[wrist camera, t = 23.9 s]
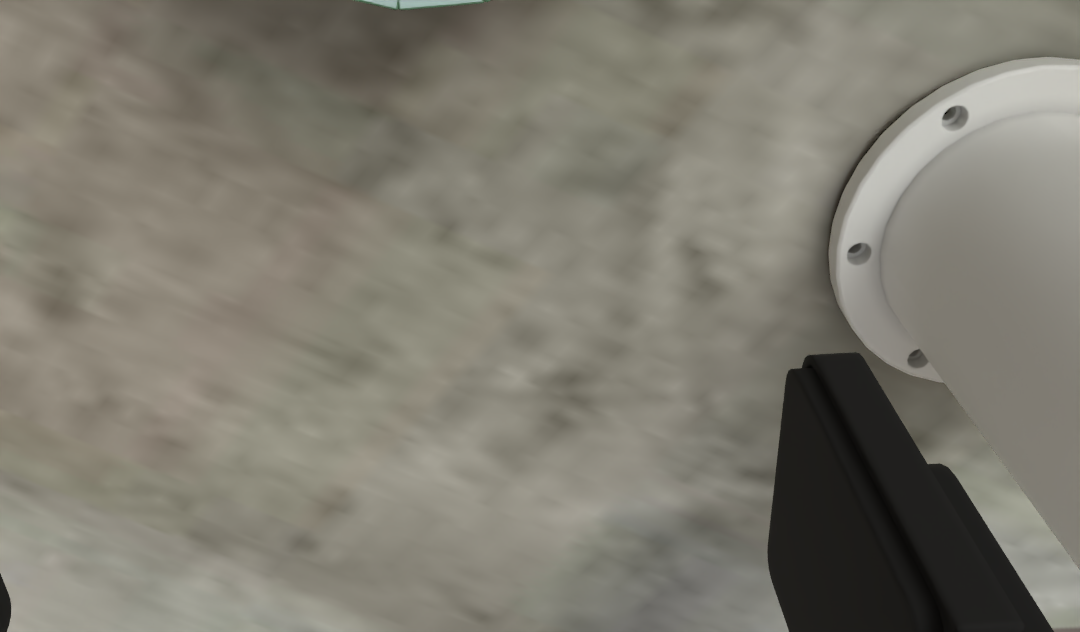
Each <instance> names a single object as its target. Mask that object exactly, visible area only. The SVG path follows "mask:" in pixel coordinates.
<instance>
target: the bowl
mask: <svg viewBox="0 0 1080 632" xmlns="http://www.w3.org/2000/svg"><path fill="white" fill-rule="evenodd" d="M354 1H358V2H362V3H367V4H371V5H375V6H380V7H384V8H389V9H393V10H398V9H399V10H413V9H424V8H436V7H447V6H459V5H470V4H482V3H484V1H485V2H489V1H491V0H354Z"/></svg>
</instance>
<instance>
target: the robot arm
mask: <svg viewBox="0 0 1080 632" xmlns="http://www.w3.org/2000/svg"><path fill="white" fill-rule="evenodd" d="M949 108H950V110H949V112H948V113H947V114H946V115H944V113H945V112H946V111H947V110H948V109H949ZM853 245H854V246H853ZM852 246H853V247H852ZM828 254H829V268H830V280H831V284H832V287H833V290H834V293H835V296H836V300H837V303H838V306H839V307H840V309H841V311H842V312H843V314H844V316H845V318H846V319H847V321H848V323H849V325H850V326H851V328H852V329H853V331H854V332H855V333H856V334H857V336H858V337H859V338H860V340H861V341H862V342H863V343H864V345H865V346H866V347H867V348H868V349H869V350H870V351H872V352H873V353H874V354H875V355H877V356H878V357H879V358H880V359H882V360H883V361H884V362H886V363H887V364H888V365H890V366H892V367H894V368H896V369H898V370H900V371H902V372H904V373H906V374H909V375H911V376H915V377H919V378H923V379H927V380H931V381H936V382H942V383H945V384H946V386H947V387H948V388H949V390H950V391H951V392H952V394H953V395H954V397H955V398H956V399H957V401H958V402H959V404H960V405H961V406H962V408H963V409H964V410H965V412H966V413H967V415H968V416H969V417H970V419H971V420H972V421H973V423H974V424H975V426H976V427H977V428H978V430H979V431H980V433H981V434H982V435H983V437H984V438H985V439H986V441H987V442H988V444H989V445H990V446H991V448H992V449H993V450H994V452H995V453H996V455H997V456H998V457H999V459H1000V460H1001V462H1002V463H1003V464H1004V466H1005V467H1006V468H1007V470H1008V471H1009V473H1010V474H1011V475H1012V477H1013V478H1014V479H1015V481H1016V482H1017V484H1018V485H1019V486H1020V488H1021V489H1022V491H1023V492H1024V493H1025V495H1026V496H1027V497H1028V499H1029V500H1030V502H1031V503H1032V504H1033V506H1034V507H1035V508H1036V510H1037V511H1038V513H1039V514H1040V515H1041V517H1042V518H1043V520H1044V521H1045V522H1046V524H1047V525H1048V526H1049V528H1050V529H1051V531H1052V532H1053V533H1054V535H1055V536H1056V538H1057V539H1058V540H1059V542H1060V543H1061V544H1062V546H1063V547H1064V549H1065V550H1066V551H1067V553H1068V554H1069V555H1070V557H1071V558H1072V560H1073V561H1074V562H1075V564H1076V565H1077V567H1078V568H1079V569H1080V60H1076V59H1067V58H1058V57H1039V58H1028V59H1017V60H1011V61H1008V62H1004V63H1000V64H997V65H993V66H989V67H986V68H982V69H978V70H976V71H974V72H972V73H970V74H967V75H965V76H963V77H961V78H959V79H956V80H954V81H952V82H950V83H948V84H946V85H943V86H942V87H940V88H939V89H937V90H936V91H934V92H933V93H931V94H930V95H928V96H927V97H925V98H924V99H922V100H921V101H919V102H918V103H916V104H915V105H913V106H912V107H910V108H909V109H908V110H907V111H906V112H905V113H904V114H903V115H902V116H901V117H899V118H898V119H897V120H896V121H895V122H894V123H893V124H892V125H891V126H890V127H889V128H887V129H886V130H885V131H884V132H883V133H882V134H881V136H880V137H879V138H878V139H877V141H876V142H875V143H874V144H873V146H872V147H871V148H870V149H869V151H868V152H867V153H866V154H865V156H864V157H863V158H862V159H861V161H860V162H859V164H858V166H857V168H856V169H855V171H854V173H853V175H852V177H851V178H850V180H849V182H848V184H847V186H846V187H845V189H844V191H843V193H842V196H841V199H840V202H839V205H838V208H837V211H836V214H835V216H834V219H833V223H832V230H831V237H830V244H829V251H828ZM768 565H769V571H770V576H771V579H772V583H773V586H774V589H775V591H776V594H777V597H778V600H779V603H780V606H781V609H782V612H783V615H784V618H785V620H786V623H787V626H788V629H789V632H1054V631H1053V630H1052V628H1051V626H1050V625H1049V623H1048V622H1047V620H1046V619H1045V617H1044V615H1043V614H1042V612H1041V611H1040V609H1039V607H1038V606H1037V604H1036V603H1035V601H1034V600H1033V598H1032V596H1031V595H1030V593H1029V592H1028V590H1027V588H1026V587H1025V585H1024V584H1023V582H1022V581H1021V579H1020V577H1019V576H1018V574H1017V573H1016V571H1015V569H1014V568H1013V566H1012V565H1011V563H1010V562H1009V560H1008V558H1007V557H1006V555H1005V554H1004V552H1003V550H1002V549H1001V547H1000V546H999V544H998V542H997V541H996V539H995V538H994V536H993V535H992V533H991V531H990V530H989V528H988V527H987V525H986V523H985V522H984V520H983V519H982V517H981V516H980V514H979V512H978V511H977V509H976V508H975V506H974V504H973V503H972V501H971V500H970V498H969V497H968V495H967V493H966V492H965V490H964V489H963V487H962V485H961V484H960V482H959V481H958V479H957V478H956V476H955V475H954V474H953V473H952V471H951V470H950V469H949V468H948V467H946V466H944V465H942V464H927V462H926V461H925V459H924V458H923V456H922V454H921V453H920V451H919V449H918V448H917V446H916V444H915V443H914V441H913V439H912V438H911V436H910V434H909V433H908V431H907V429H906V428H905V426H904V424H903V423H902V421H901V419H900V418H899V416H898V414H897V413H896V411H895V410H894V408H893V406H892V405H891V403H890V401H889V400H888V398H887V396H886V395H885V393H884V391H883V390H882V388H881V386H880V385H879V383H878V381H877V380H876V378H875V376H874V375H873V373H872V371H871V370H870V368H869V366H868V365H867V363H866V362H865V360H864V358H863V357H862V356H861V355H860V354H859V353H856V352H854V353H837V354H819V355H808V356H807V357H806V358H805V360H804V362H803V365H802V368H800V369H790V370H789V371H788V374H787V377H786V384H785V393H784V402H783V411H782V421H781V430H780V439H779V448H778V457H777V466H776V475H775V485H774V494H773V503H772V512H771V521H770V530H769V540H768ZM10 618H11V602H10V597H9V594H8V591H7V589H6V587H5V584H4V582H3V579H2V577H1V574H0V632H7V629H8V626H9V622H10Z"/></svg>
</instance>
